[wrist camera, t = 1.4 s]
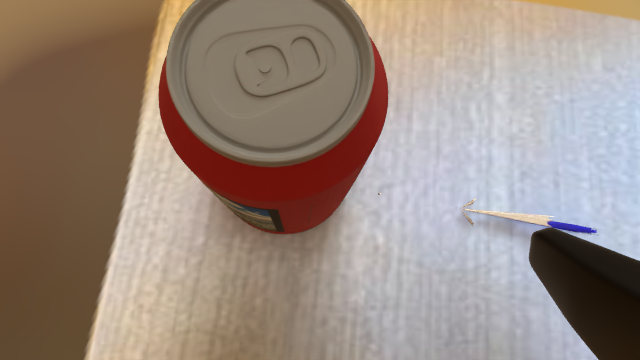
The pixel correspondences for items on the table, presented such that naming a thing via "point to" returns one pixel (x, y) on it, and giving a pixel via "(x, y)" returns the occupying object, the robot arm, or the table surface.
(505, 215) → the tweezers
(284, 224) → the beverage can
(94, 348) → the table surface
